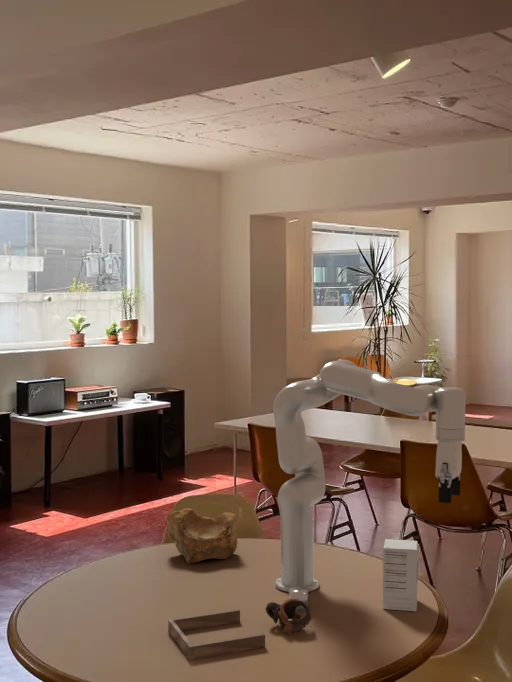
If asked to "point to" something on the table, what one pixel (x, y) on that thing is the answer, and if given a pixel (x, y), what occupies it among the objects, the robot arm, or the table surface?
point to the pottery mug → (289, 614)
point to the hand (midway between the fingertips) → (449, 498)
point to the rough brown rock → (202, 535)
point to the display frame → (216, 646)
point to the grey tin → (299, 596)
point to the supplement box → (400, 574)
